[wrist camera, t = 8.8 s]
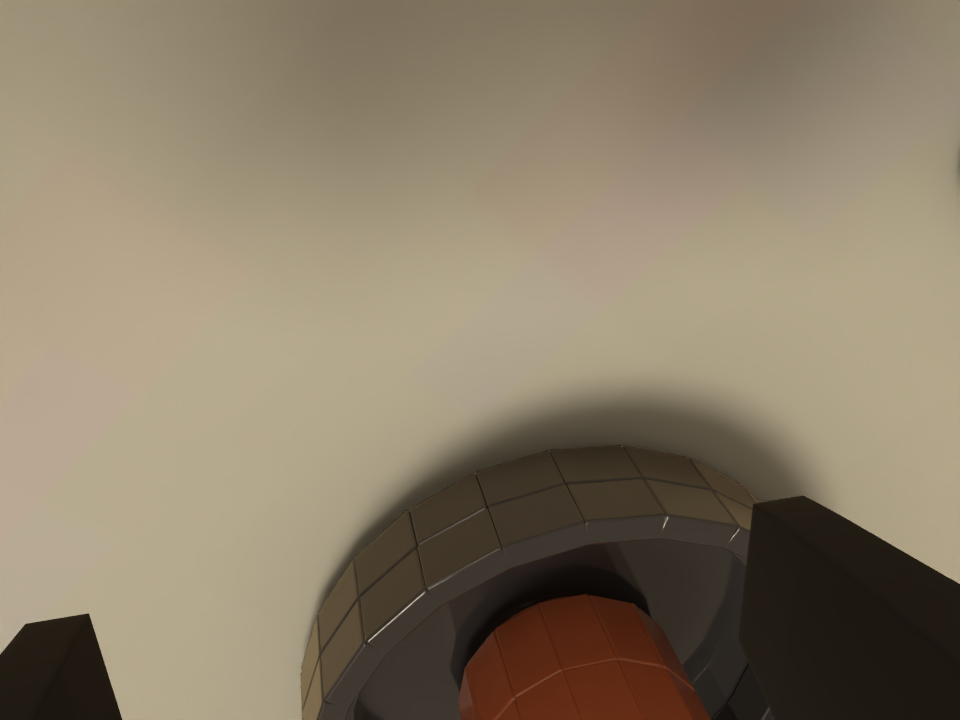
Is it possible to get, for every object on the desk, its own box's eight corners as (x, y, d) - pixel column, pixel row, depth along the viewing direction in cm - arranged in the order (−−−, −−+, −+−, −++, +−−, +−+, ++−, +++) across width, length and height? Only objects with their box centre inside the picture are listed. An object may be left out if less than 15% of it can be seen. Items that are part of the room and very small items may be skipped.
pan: (531, 880, 27) (560, 991, 25) (187, 691, 22) (174, 808, 19) (872, 615, 25) (947, 704, 22) (590, 327, 20) (643, 398, 17)
